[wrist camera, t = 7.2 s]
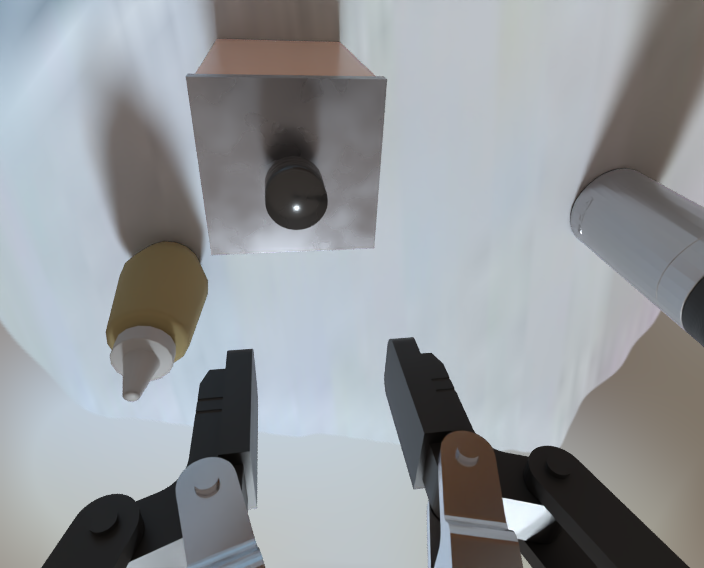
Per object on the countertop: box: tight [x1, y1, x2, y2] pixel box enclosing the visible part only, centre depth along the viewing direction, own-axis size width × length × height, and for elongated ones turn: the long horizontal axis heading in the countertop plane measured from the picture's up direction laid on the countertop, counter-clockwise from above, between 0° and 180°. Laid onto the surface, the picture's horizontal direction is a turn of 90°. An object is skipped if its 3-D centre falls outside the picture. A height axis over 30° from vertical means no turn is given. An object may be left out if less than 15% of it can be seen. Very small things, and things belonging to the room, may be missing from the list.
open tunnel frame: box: [195, 39, 375, 76], centre depth 35 cm, size 10×10×16 cm
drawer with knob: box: [186, 74, 387, 255], centre depth 32 cm, size 10×10×20 cm
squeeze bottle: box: [106, 241, 208, 402], centre depth 41 cm, size 8×8×18 cm
